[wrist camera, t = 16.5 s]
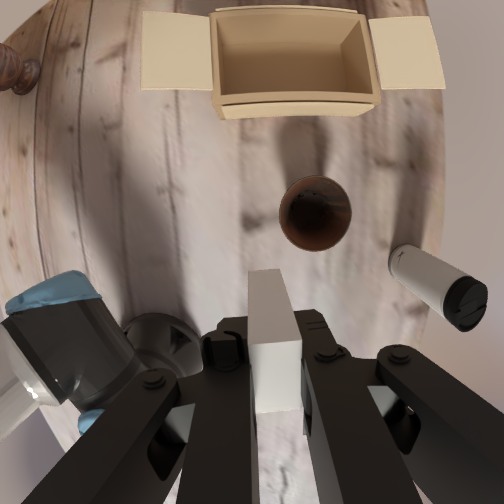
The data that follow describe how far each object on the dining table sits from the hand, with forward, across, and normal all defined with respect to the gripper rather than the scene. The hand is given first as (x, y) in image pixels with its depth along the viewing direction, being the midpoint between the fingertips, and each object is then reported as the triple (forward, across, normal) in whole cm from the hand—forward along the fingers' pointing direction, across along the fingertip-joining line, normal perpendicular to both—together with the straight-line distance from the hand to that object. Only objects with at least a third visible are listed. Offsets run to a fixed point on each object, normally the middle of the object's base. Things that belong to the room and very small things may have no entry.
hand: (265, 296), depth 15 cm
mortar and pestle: (+31, -40, +30) cm, 59 cm away
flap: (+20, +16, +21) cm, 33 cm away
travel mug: (+31, +24, -9) cm, 40 cm away
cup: (+31, +7, +1) cm, 31 cm away
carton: (+30, +6, +21) cm, 37 cm away
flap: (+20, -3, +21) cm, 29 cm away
